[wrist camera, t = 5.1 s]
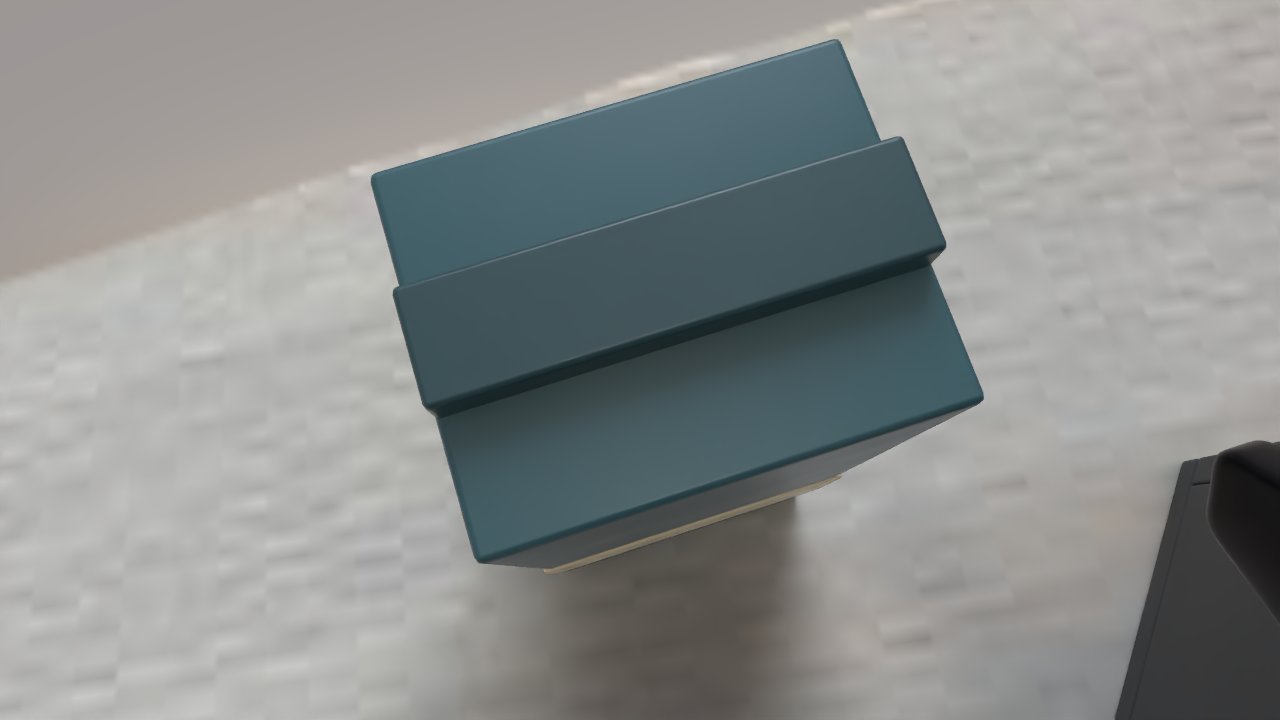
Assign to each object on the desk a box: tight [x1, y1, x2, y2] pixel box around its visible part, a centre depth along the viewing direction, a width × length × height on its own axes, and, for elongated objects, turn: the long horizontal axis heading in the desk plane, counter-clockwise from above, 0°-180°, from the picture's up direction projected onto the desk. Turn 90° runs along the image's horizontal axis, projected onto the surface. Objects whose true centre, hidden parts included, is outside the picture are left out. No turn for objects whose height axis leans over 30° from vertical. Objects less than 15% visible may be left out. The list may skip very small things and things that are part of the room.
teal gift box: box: [371, 39, 984, 574], centre depth 14 cm, size 4×5×12 cm
